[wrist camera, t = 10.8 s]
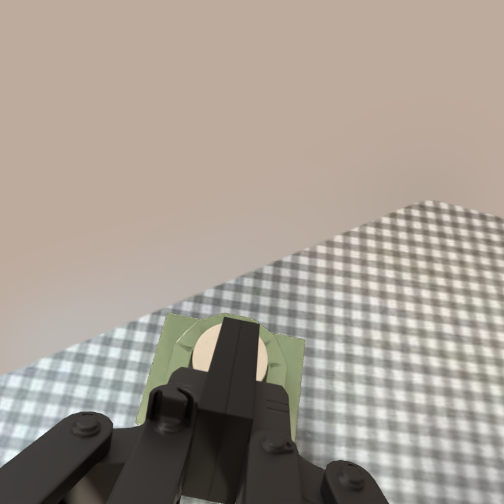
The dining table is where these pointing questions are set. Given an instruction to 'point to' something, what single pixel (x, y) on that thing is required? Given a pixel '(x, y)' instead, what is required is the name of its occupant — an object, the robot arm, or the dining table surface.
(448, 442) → the dining table surface
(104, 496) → the robot arm
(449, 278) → the dining table surface
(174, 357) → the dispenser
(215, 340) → the beige short cylinder
